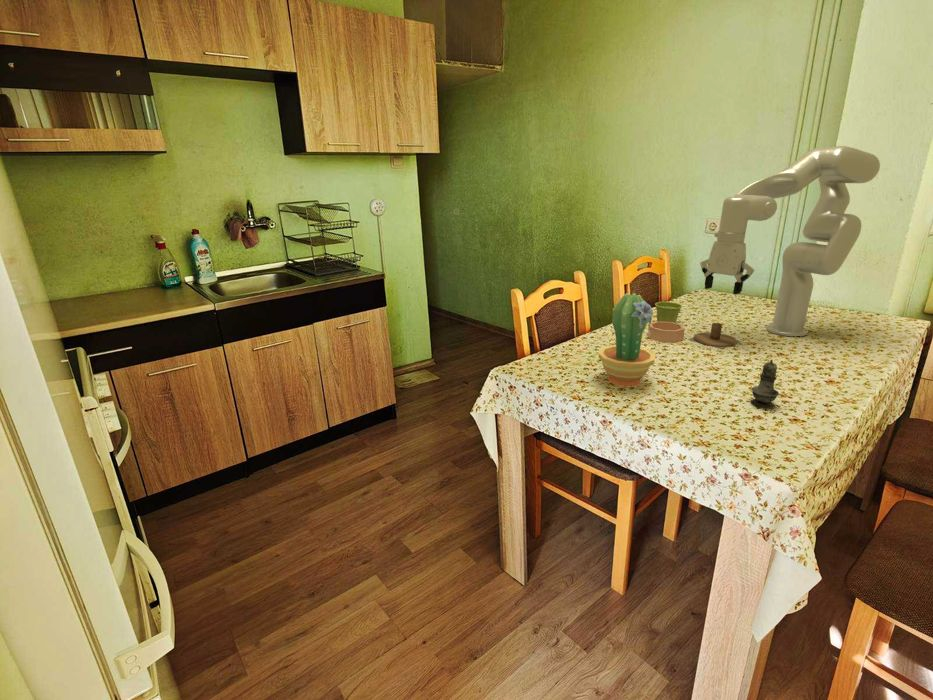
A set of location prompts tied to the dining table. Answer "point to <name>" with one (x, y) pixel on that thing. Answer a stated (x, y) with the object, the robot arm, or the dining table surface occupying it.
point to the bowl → (666, 332)
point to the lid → (715, 337)
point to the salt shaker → (766, 387)
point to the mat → (714, 346)
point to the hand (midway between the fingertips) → (722, 291)
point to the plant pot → (667, 311)
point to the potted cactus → (628, 342)
